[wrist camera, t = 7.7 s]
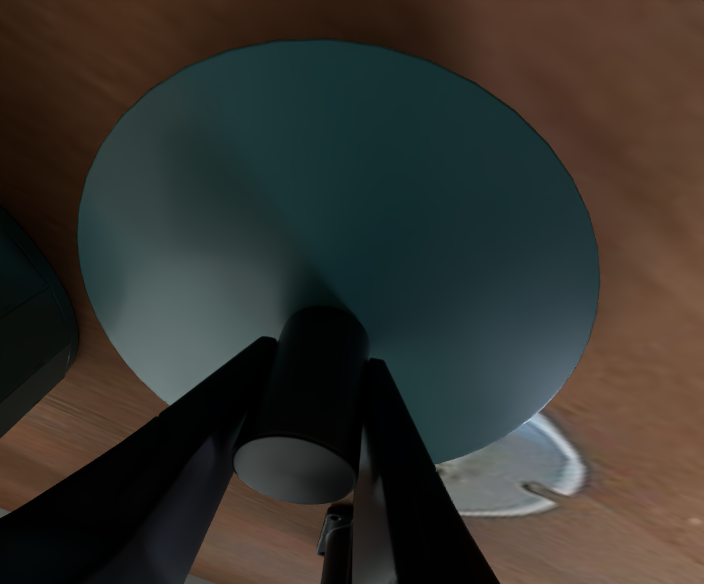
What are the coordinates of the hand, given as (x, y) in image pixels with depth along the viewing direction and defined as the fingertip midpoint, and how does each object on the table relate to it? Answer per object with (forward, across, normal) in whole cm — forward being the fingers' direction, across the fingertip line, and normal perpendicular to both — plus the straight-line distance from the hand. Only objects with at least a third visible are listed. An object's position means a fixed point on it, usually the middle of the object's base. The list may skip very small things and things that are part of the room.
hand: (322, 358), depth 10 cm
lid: (+1, 0, 0) cm, 1 cm away
